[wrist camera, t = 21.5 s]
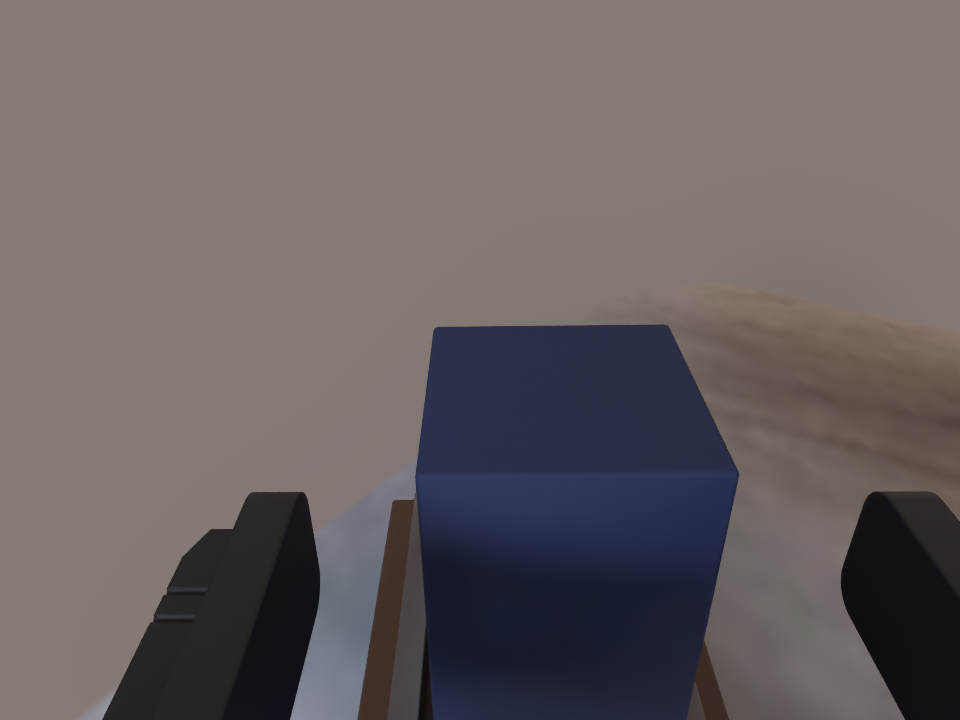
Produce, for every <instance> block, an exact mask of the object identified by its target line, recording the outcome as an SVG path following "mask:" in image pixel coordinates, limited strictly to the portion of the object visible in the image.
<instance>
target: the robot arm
mask: <svg viewBox="0 0 960 720" xmlns="http://www.w3.org/2000/svg"><path fill="white" fill-rule="evenodd" d="M841 590H842V596H843V600H844V604H845V607H846V610H847V612H848V614H849V616H850V618H851V620H852V622H853V624H854V625H855V627H856V629H857V631H858V633H859V635H860V637H861V638H862V640H863V642H864V644H865V646H866V648H867V650H868V651H869V653H870V655H871V657H872V659H873V661H874V663H875V664H876V666H877V668H878V670H879V672H880V674H881V676H882V677H883V679H884V681H885V683H886V685H887V687H888V689H889V690H890V692H891V694H892V696H893V698H894V700H895V702H896V703H897V705H898V707H899V709H900V711H901V713H902V715H903V716H904V718H905V720H960V521H959V520H958V519H957V518H956V516H955V515H954V514H953V513H952V512H951V510H950V509H949V508H948V507H947V505H946V504H945V503H944V502H943V501H942V500H941V498H940V497H938V496H937V495H936V494H934V493H932V492H873V493H871V494H870V495H869V496H868V497H867V498H866V500H865V502H864V505H863V508H862V511H861V514H860V517H859V520H858V523H857V526H856V529H855V532H854V535H853V538H852V541H851V544H850V547H849V550H848V552H847V555H846V558H845V561H844V564H843V568H842V573H841ZM319 594H320V570H319V563H318V557H317V551H316V545H315V539H314V534H313V528H312V523H311V516H310V510H309V504H308V500H307V497H306V495H305V493H303V492H252V493H250V494H249V495H248V497H247V498H246V500H245V502H244V505H243V507H242V509H241V511H240V514H239V516H238V519H237V521H236V523H235V526H234V528H233V529H211V530H210V531H209V532H208V533H207V534H206V535H204V536H203V537H202V538H201V540H199V541H198V542H197V543H196V544H195V545H194V546H193V547H192V548H191V549H190V550H189V551H188V552H187V553H186V554H185V555H184V556H183V557H182V559H181V561H180V563H179V565H178V567H177V569H176V571H175V573H174V576H173V577H172V579H171V581H170V583H169V585H168V587H167V594H166V595H164V596H163V598H162V600H161V602H160V604H159V606H158V608H157V610H156V612H155V614H154V621H153V622H151V623H150V624H149V626H148V628H147V630H146V632H145V634H144V637H143V638H142V640H141V642H140V644H139V646H138V648H137V650H136V652H135V654H134V657H133V658H132V660H131V662H130V664H129V667H128V669H127V671H126V673H125V675H124V677H123V679H122V681H121V683H120V685H119V687H118V689H117V691H116V693H115V695H114V697H113V699H112V701H111V703H110V705H109V707H108V709H107V711H106V713H105V715H104V717H103V719H102V720H290V717H291V713H292V709H293V705H294V701H295V697H296V693H297V689H298V686H299V682H300V678H301V674H302V670H303V666H304V662H305V658H306V654H307V650H308V646H309V642H310V638H311V634H312V630H313V626H314V622H315V618H316V614H317V609H318V603H319Z"/></svg>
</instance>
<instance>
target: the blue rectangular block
mask: <svg viewBox="0 0 960 720" xmlns="http://www.w3.org/2000/svg"><path fill="white" fill-rule="evenodd" d="M738 478H739V473H738V470H737V468H736V466H735V464H734V462H733V460H732V458H731V455H730V453H729V451H728V449H727V447H726V445H725V443H724V441H723V439H722V437H721V435H720V433H719V430H718V428H717V426H716V424H715V422H714V420H713V418H712V416H711V414H710V412H709V410H708V408H707V405H706V403H705V401H704V399H703V397H702V395H701V393H700V391H699V389H698V387H697V385H696V383H695V380H694V378H693V376H692V374H691V372H690V370H689V368H688V366H687V364H686V362H685V360H684V358H683V356H682V353H681V351H680V349H679V347H678V345H677V343H676V341H675V339H674V337H673V335H672V333H671V331H670V328H669V326H667V325H586V326H491V327H490V326H489V327H436V328H435V329H434V331H433V339H432V348H431V356H430V364H429V372H428V380H427V388H426V397H425V404H424V412H423V420H422V428H421V436H420V444H419V452H418V460H417V468H416V476H415V479H416V492H417V506H418V519H419V532H420V546H421V559H422V573H423V586H424V600H425V613H426V627H427V640H428V654H429V667H430V681H431V694H432V707H433V720H687V715H688V711H689V706H690V702H691V697H692V692H693V688H694V683H695V678H696V674H697V669H698V664H699V660H700V655H701V650H702V646H703V641H704V636H705V632H706V627H707V622H708V618H709V613H710V608H711V604H712V599H713V594H714V590H715V585H716V580H717V576H718V571H719V566H720V562H721V557H722V552H723V548H724V543H725V538H726V534H727V529H728V524H729V520H730V515H731V510H732V506H733V501H734V496H735V492H736V487H737V483H738Z"/></svg>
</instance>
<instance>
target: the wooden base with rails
mask: <svg viewBox="0 0 960 720" xmlns="http://www.w3.org/2000/svg"><path fill="white" fill-rule="evenodd" d="M357 720H433V707H432V694H431V681H430V667H429V654H428V640H427V627H426V613H425V600H424V586H423V573H422V559H421V546H420V532H419V519H418V506H417V493H415V499H414V500H394V501H393V503H392V509H391V515H390V521H389V528H388V534H387V540H386V546H385V552H384V558H383V565H382V571H381V577H380V583H379V589H378V596H377V602H376V608H375V614H374V620H373V627H372V633H371V639H370V645H369V651H368V657H367V664H366V670H365V676H364V682H363V688H362V695H361V701H360V707H359V713H358V719H357ZM687 720H729V718H728V715H727V712H726V709H725V706H724V702H723V699H722V696H721V693H720V690H719V686H718V683H717V680H716V677H715V674H714V671H713V667H712V664H711V661H710V658H709V655H708V651H707V648H706V645H705V642H704V641H703V646H702V650H701V655H700V660H699V664H698V669H697V674H696V678H695V683H694V688H693V692H692V697H691V702H690V706H689V711H688V715H687Z"/></svg>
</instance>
